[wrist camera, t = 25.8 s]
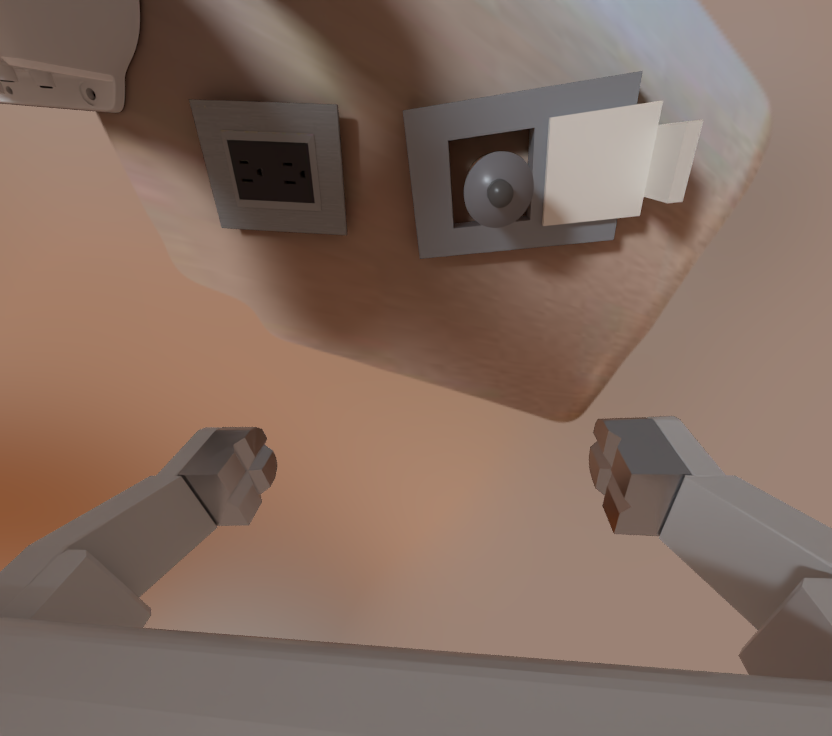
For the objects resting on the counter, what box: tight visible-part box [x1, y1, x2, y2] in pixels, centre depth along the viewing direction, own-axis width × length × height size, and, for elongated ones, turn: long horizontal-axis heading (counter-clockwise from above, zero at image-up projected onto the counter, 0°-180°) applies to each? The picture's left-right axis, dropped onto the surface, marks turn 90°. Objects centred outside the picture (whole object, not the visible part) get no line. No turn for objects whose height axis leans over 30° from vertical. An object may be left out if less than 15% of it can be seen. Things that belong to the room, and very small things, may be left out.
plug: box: [464, 151, 534, 228], centre depth 28 cm, size 5×5×12 cm
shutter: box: [542, 100, 704, 226], centre depth 27 cm, size 9×8×5 cm
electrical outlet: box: [189, 99, 347, 235], centre depth 33 cm, size 13×10×2 cm
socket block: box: [403, 71, 642, 259], centre depth 31 cm, size 18×12×2 cm, turn 97°
